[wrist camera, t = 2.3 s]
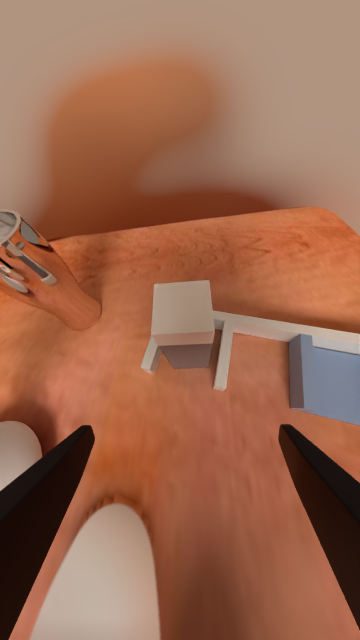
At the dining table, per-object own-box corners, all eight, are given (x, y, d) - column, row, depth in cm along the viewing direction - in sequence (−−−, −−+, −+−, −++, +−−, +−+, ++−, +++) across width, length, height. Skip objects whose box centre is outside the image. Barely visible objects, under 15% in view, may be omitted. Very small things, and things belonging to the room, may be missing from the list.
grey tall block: (208, 367, 23) (214, 331, 12) (173, 368, 23) (150, 334, 12) (205, 335, 25) (209, 279, 14) (173, 337, 25) (154, 284, 14)
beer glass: (54, 318, 29) (-71, 240, 15) (87, 290, 31) (2, 199, 18) (79, 342, 26) (-45, 274, 13) (113, 309, 28) (35, 221, 15)
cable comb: (147, 372, 23) (140, 367, 20) (166, 312, 27) (162, 302, 24) (396, 434, 18) (431, 439, 15) (376, 349, 22) (401, 340, 19)
